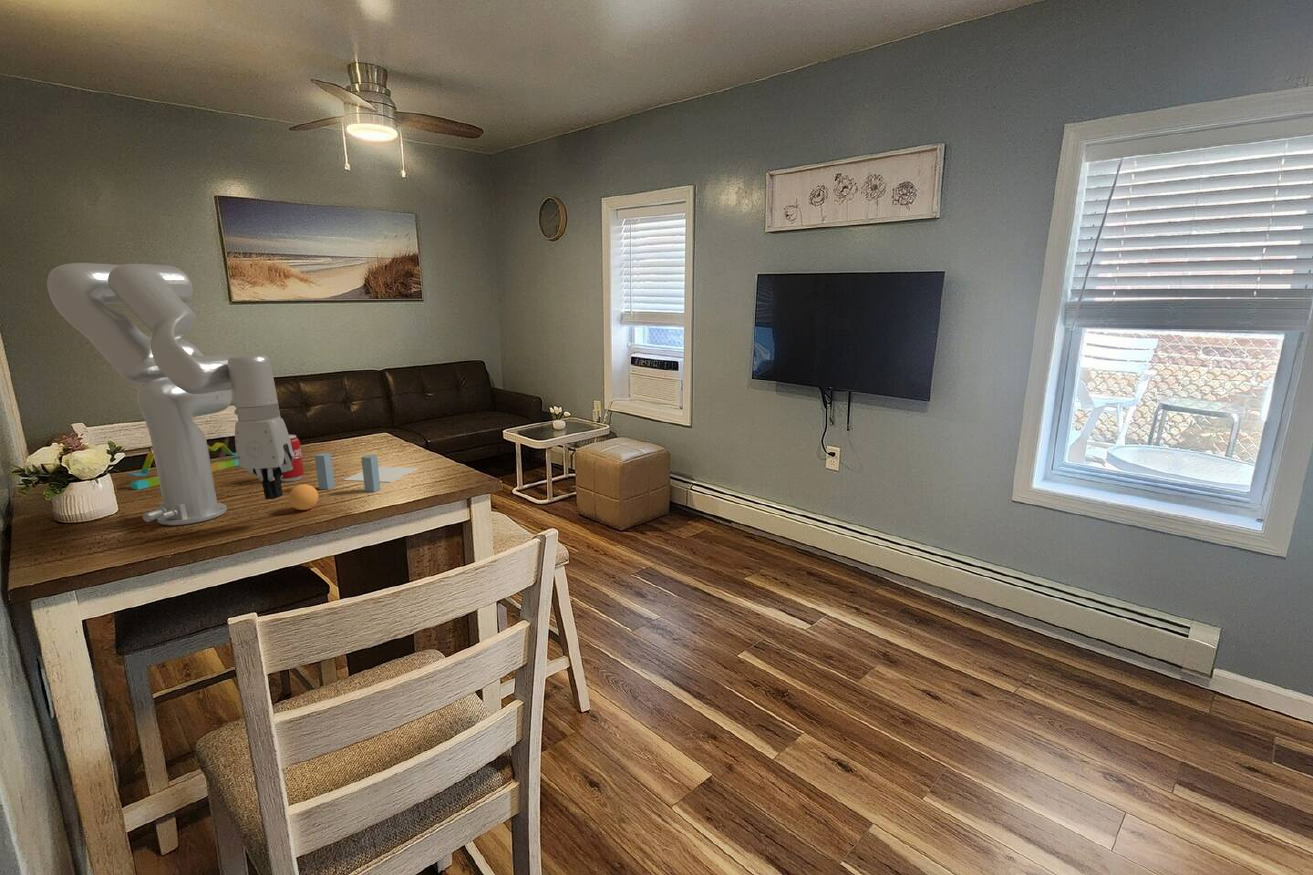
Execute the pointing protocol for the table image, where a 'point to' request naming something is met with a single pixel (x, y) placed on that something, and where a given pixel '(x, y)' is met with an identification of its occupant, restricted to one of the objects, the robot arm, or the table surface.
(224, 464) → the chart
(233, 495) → the table surface
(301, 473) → the beverage can
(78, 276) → the robot arm
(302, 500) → the ball
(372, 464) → the right post
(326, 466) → the left post
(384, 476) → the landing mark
